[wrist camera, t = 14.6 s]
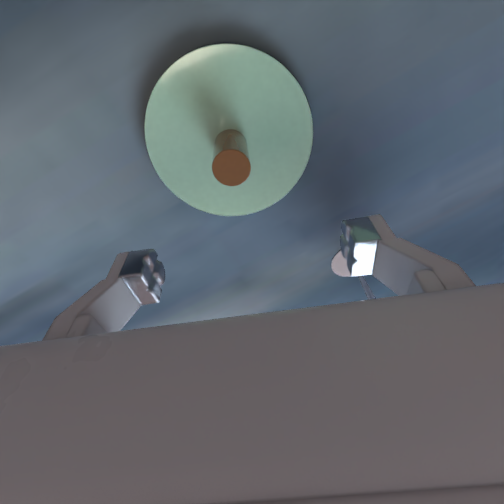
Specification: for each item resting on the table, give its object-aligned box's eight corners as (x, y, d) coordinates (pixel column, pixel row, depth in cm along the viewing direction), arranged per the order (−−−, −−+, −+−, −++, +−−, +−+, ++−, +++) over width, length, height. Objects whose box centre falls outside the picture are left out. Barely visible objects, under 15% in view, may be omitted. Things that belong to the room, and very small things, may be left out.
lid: (307, 23, 18) (330, 26, 14) (311, 197, 27) (326, 230, 23) (116, 62, 19) (87, 76, 15) (178, 220, 27) (170, 256, 23)
